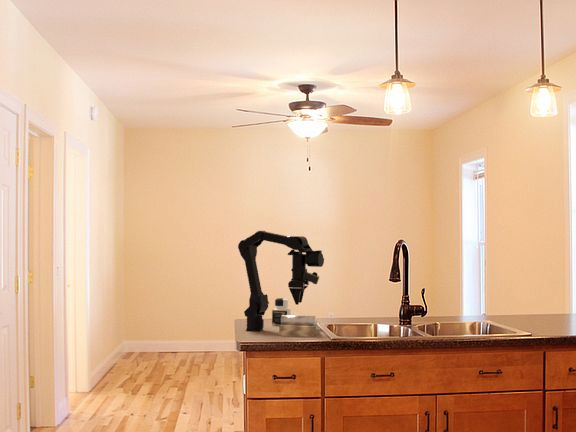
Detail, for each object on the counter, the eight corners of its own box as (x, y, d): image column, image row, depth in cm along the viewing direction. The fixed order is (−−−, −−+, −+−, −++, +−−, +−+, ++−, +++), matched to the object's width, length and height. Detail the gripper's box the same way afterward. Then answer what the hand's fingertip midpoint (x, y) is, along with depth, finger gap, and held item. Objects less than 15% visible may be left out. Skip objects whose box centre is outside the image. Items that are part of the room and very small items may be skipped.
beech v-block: (279, 335, 281) (279, 325, 282) (283, 331, 292) (283, 322, 292) (313, 336, 279) (313, 326, 279) (316, 332, 290) (316, 323, 290)
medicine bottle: (271, 325, 313) (272, 298, 313) (275, 323, 320) (276, 297, 320) (286, 325, 311) (287, 299, 312) (290, 323, 318) (290, 298, 319)
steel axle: (280, 326, 285) (280, 315, 285) (282, 324, 289) (282, 314, 289) (314, 327, 283) (314, 316, 283) (315, 325, 287) (315, 315, 287)
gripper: (315, 267, 276) (315, 306, 276) (320, 265, 294) (320, 301, 294) (288, 267, 278) (287, 305, 277) (295, 265, 296) (294, 301, 296)
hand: (298, 303), depth 286 cm, fingers open, 9 cm apart
